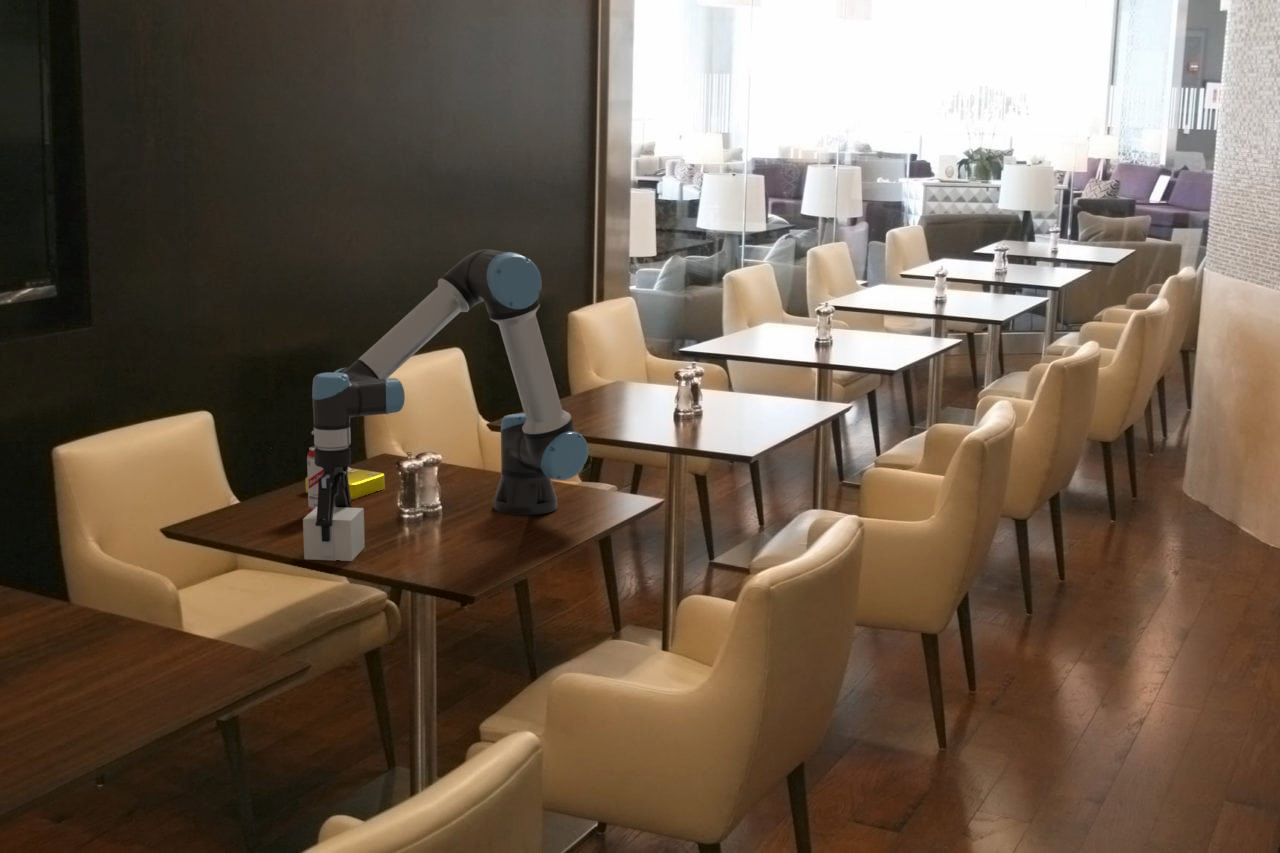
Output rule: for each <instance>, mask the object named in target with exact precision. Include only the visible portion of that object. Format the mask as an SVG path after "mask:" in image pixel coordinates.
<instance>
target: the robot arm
mask: <svg viewBox="0 0 1280 853" xmlns="http://www.w3.org/2000/svg"><path fill="white" fill-rule="evenodd" d="M542 285H543V282H542V276H541V272H540V270H539V269H538V267H537V265H536V264H535V263H534V262H533V261H532V260H531V259H529V258H528V257H526V256H523V255H521V254H520V253H518V252H517V253H516V252H511V251H510V252H509V251H507V252H506V251H500V250H496V249H490V248H489V249H488V248H486V249H479V250H477V251H474V252H472V253H470V254H468V255H467V256H465V257H464V258H462V259H461V260H460V261H459V262H457V263H456V264H455V265H454V266H452V268H450V269H449V270H448V271H447V272H446V273H445V274H444V275H442V276H441V277H440V278H439V279H438V281H437V287H436V288H435V289H434V290H433V291H431V293H429V294H427V296H426V297H425V298H424V299H423V300H422V301H421V302H419V303H418V304H417V305H416V306H415V307H414V308H413V309H412V310H411V311H409V312H408V314H406V315H405V316H404V317H403V318H402V319H401V320H399V322H398V323H396V324H395V325H394V326H393V327H391V329H390V330H389V331H388V332H386V333H385V334H384V335H383V336H382V337H381V338H380V339H379V340H378V341H377V342H375V343H374V344H373V345H372V346H371V347H370V348H369V349H367V351H365V352H364V353H363V354H362V355H361V356H360V357H359V358H358V359H356V361H354V362H353V363H352V364H351V365H350V366H349V367H341V368H339V369H336V370H335V371H334V372H331V371H330V372H322V373H321V372H320V373H318V374H316V375H315V376H314V377H313V380H312V388H311V390H312V393H311V397H312V411H313V412H312V413H313V414H312V415H313V430H311V432H310V433H311V435H313V437H314V438H313V441H314V442H313V444H314V445H313V446H316V448H315V449H314V459H315V465H316V466H318V467H322V468H323V469H324V471H323V475H322V478H319V479H318V505H317V521H316V523H315V525H316V526H320V544H321V556H334V525H332V520H333V512H334V504H335V505H336V507H346V508H353V506H352V500H351V498H350V490H349V482H348V466H349V465H351V463H352V455H351V454H352V452H351V451H352V450H351V447H350V445H351V443H352V442H351V439H352V438H351V418H356V417H365V416H378V415H389V414H393V413H398V412H400V411H402V410H403V409H404V408H403V407H404V404H405V398H406V397H405V389H404V386H403V383H402V382H401V381H400V380H399V379H398V378H396V377H394V378H393V377H391V375H393V374H394V373H395V372H396V371H397V370H399V368H401V367H402V366H403V365H404V364H405V363H406V362H407V361H408V360H409V359H411V358H412V357H413V356H414V355H415V354H416V353H417V352H418V351H419V350H420V349H422V348H423V346H425V345H426V344H427V343H428V342H429V341H430V340H431V339H432V338H433V337H434V336H436V335H437V334H438V333H439V332H440V331H441V330H442V329H444V328H445V326H446V325H448V324H449V323H450V322H451V321H452V320H453V319H454V318H455V317H456V316H458V315H459V314H460V313H468V312H469V311H470V310H471V309H472V308H473V307H475V306H476V305H478V304H480V303H482V302H484V304H485V308H486V310H487V311H486V312H487V313H488V317H489V319H490V321H492V322H494V323H496V324H497V325H498V327H499V330H500V334H501V338H502V342H503V345H504V348H505V352H506V355H507V358H508V362H509V365H510V369H511V372H512V375H513V379H514V382H515V385H516V389H517V392H518V393H517V394H518V397H519V400H520V402H521V406H522V410H523V412H521V413H512V414H507V415H504V416H503V417H502V418H501V422H500V424H501V425H500V431H499V432H500V459H501V460H500V462H501V463H500V468H501V469H500V470H501V472H500V474H501V475H500V479H499V483H498V485H497V489H496V492H495V495H494V498H493V508H494V510H495V511H497V512H500V513H501V514H507V515H514V516H515V515H516V516H536V515H537V516H538V515H543V514H548V513H552V512H554V511H555V510H557V509H558V497H557V495H556V491H555V488H554V485H553V481H552V480H558V481H567V480H570V479H572V478H573V477H575V476H577V475H578V474H579V473H580V472H582V470H583V469H584V466H585V464H586V463H587V460H588V458H589V446H588V443H587V440H586V438H584V436H583V435H582V434H581V433H579V432H578V431H576V430H575V429H576V428H575V425H574V422H573V419H572V416H571V413H570V412H568V411H566V410H564V409H563V407H562V404H561V401H560V397H559V393H558V390H557V387H556V386H557V385H556V382H555V378H554V376H553V375H554V374H553V372H552V368H551V364H550V361H549V357H548V354H547V350H546V346H545V343H544V340H543V336H542V332H541V329H540V325H539V321H538V318H537V312H538V310H539V308H540V306H541V304H540V300H539V296H540V292H541V291H542ZM390 377H391V378H390ZM323 519H325V520H323Z"/></svg>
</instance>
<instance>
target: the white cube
mask: <svg viewBox="0 0 1280 853" xmlns="http://www.w3.org/2000/svg"><path fill="white" fill-rule="evenodd" d="M323 520H325V519H323ZM316 521H317V507H316V508H315V509H314V510H313V511H312V512H310V513H309V512H308V514H307V515H305V517H304V518H302V527H303V528H302V532H303V535H302V536H303V558H304V560H308V561H309V560H311V561H313V560H315V561H336V560H340V561H342V562H353V561H354V560H355V559H356V557H357V556H358V555H359V554H360V553H361V552H363V550H364V549H365V548H366V546H365V543H366V542H365V510H364V507H352V508H346V507H334V512H333V520H332V525H334V556H321V544H320V526H316V525H315V523H316ZM340 561H339V562H340Z"/></svg>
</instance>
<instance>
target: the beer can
mask: <svg viewBox="0 0 1280 853" xmlns="http://www.w3.org/2000/svg"><path fill="white" fill-rule="evenodd" d="M315 448H316V446H315V445H313V446H311V447H309V448H308V449H309V450H308V451H309V452H308V453H307V457H306V463H307V464H306V465H307V477H308V494H307V500H308V501H307V502H308V514H309V513H310V512H312V511H313V510H314V509H315V508H316V507H317V505H318V479H319V478H322V475H323V471H324V469H323V468H322V467H318V466H316V465H315V459H314V449H315ZM334 507H336V505H335V504H334Z"/></svg>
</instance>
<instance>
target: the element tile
mask: <svg viewBox="0 0 1280 853" xmlns="http://www.w3.org/2000/svg"><path fill="white" fill-rule="evenodd" d="M385 476H386V475H385V473H384V472H380V471H379V472H378V471H372V470H366V469H358V468H352V467H348V482H349V490H350V498H351V501H354V500H357V498H358V499H360V498H359V497H361V498H363V497H362V496H364V497H366V496H365V495H367V496H369V495H368V494H370V495H372V494H371V493H373V494H375V493H374V492H376V491H379V492H381V491H380V490H382V491H384V490H386V485H385V484H386V480H385V479H386V477H385ZM383 489H384V490H383ZM307 493H308V476H306V477H305V494H307ZM376 493H377V492H376ZM353 499H354V500H353Z"/></svg>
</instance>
